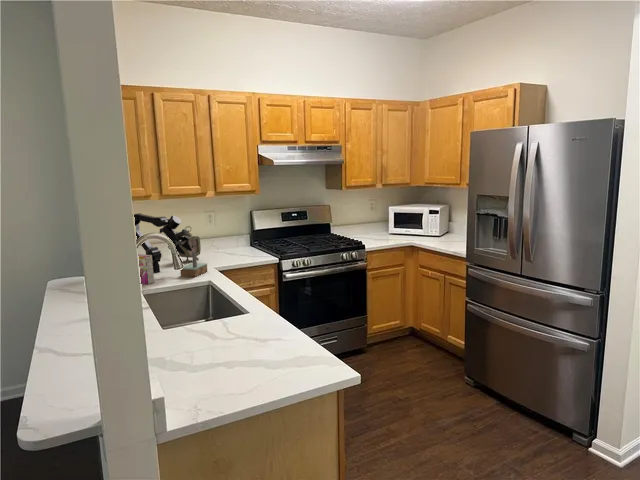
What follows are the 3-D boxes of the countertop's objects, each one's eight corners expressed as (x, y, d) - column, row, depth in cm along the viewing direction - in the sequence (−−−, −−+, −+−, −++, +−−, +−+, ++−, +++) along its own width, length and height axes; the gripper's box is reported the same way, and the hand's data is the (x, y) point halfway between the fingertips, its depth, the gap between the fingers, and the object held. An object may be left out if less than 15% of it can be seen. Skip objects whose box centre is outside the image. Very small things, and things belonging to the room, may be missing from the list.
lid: (195, 270, 259) (193, 253, 257) (179, 269, 262) (178, 252, 260) (207, 264, 273) (206, 248, 271) (192, 264, 275) (191, 248, 274)
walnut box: (195, 277, 260) (194, 270, 259) (180, 276, 263) (180, 269, 262) (207, 272, 273) (207, 265, 272) (193, 271, 276) (192, 264, 275)
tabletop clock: (188, 263, 299) (185, 227, 295) (177, 263, 302) (175, 227, 298) (201, 259, 312) (199, 225, 308) (191, 258, 315) (188, 224, 311)
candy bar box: (133, 283, 250) (131, 255, 247) (140, 281, 254) (138, 253, 252) (148, 284, 245) (145, 256, 243) (154, 282, 250) (152, 254, 247)
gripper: (172, 227, 255) (190, 246, 256) (186, 223, 273) (203, 241, 274) (160, 239, 258) (178, 259, 258) (174, 234, 276) (191, 252, 277)
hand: (188, 252), depth 267 cm, fingers open, 9 cm apart
